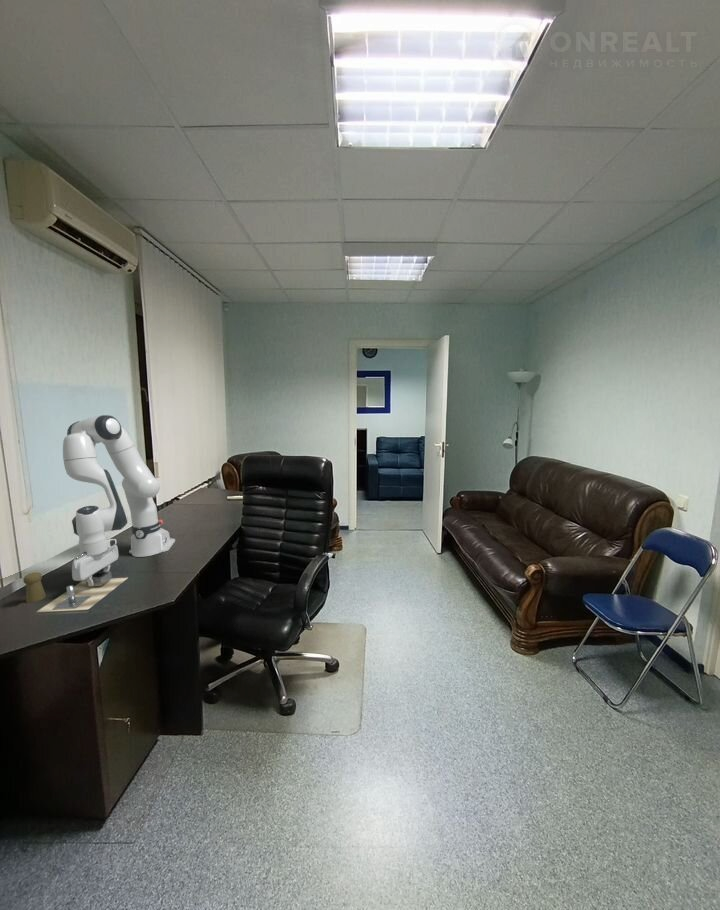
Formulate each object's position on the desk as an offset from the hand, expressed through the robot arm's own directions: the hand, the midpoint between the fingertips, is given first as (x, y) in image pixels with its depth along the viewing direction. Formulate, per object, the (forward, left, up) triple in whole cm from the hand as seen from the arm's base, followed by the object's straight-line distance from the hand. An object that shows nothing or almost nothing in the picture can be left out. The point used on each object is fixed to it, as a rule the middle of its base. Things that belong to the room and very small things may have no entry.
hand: (99, 580), depth 149 cm
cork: (+9, -18, -3) cm, 20 cm away
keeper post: (+14, -1, -2) cm, 14 cm away
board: (+7, -1, -3) cm, 8 cm away
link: (0, 0, -1) cm, 1 cm away
